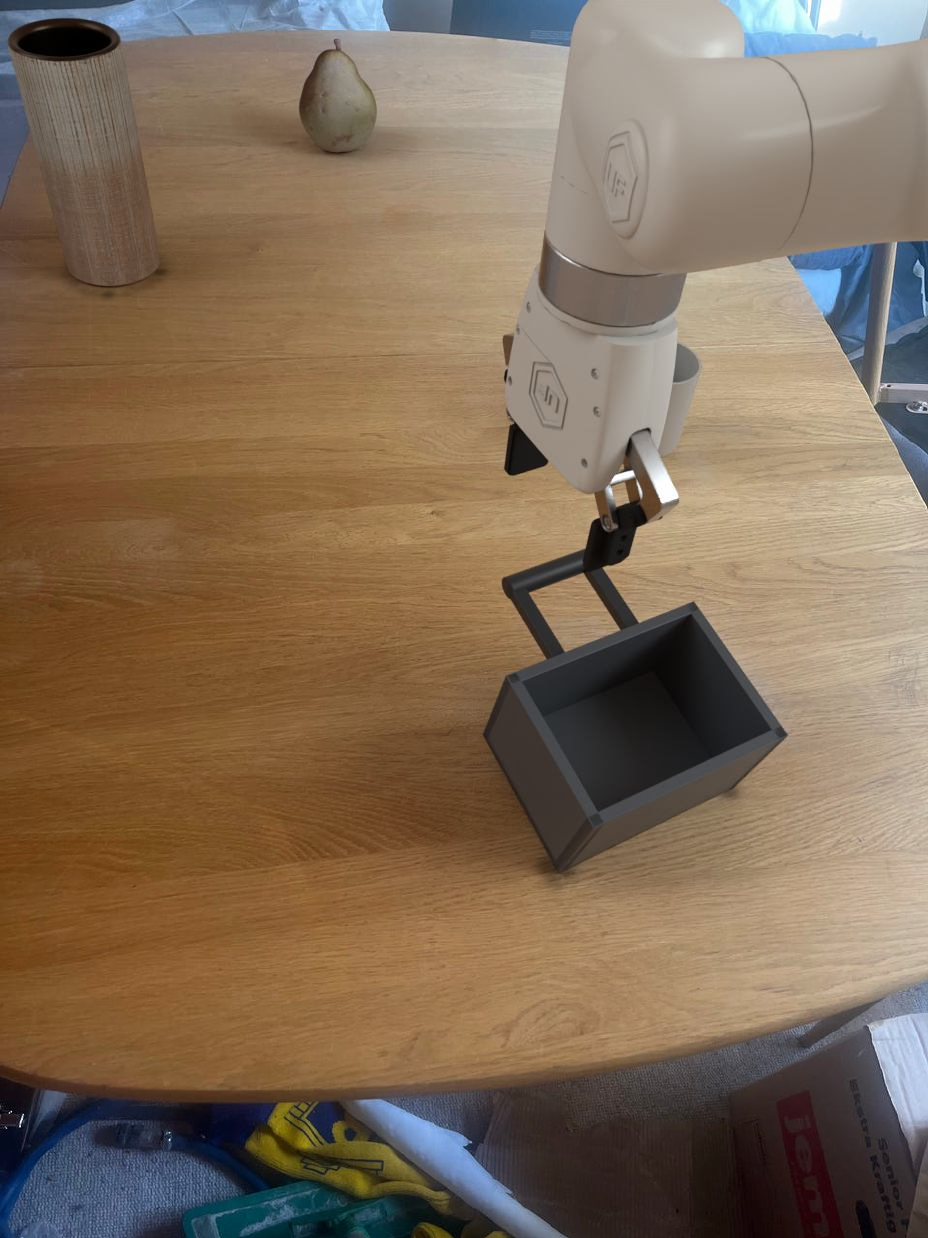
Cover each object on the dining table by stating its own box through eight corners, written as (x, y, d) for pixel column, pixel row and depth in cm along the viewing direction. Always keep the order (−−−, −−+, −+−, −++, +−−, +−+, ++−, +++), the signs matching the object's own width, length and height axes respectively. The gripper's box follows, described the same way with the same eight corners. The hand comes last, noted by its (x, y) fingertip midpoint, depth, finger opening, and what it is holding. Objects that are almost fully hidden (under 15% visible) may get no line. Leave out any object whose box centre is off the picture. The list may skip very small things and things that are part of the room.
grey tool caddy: (734, 787, 69) (788, 735, 61) (558, 874, 64) (593, 828, 56) (604, 589, 76) (638, 520, 69) (436, 651, 71) (453, 585, 64)
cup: (625, 468, 91) (646, 390, 84) (580, 404, 96) (595, 326, 89) (691, 454, 93) (716, 377, 86) (643, 392, 98) (663, 315, 91)
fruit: (360, 125, 133) (359, 28, 123) (391, 154, 128) (392, 56, 118) (291, 136, 129) (285, 38, 120) (320, 167, 124) (316, 67, 115)
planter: (101, 231, 110) (50, 8, 93) (178, 253, 109) (141, 30, 91) (47, 273, 104) (-18, 43, 87) (128, 297, 102) (78, 66, 85)
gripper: (469, 207, 53) (451, 449, 66) (649, 380, 44) (587, 624, 57) (582, 185, 56) (543, 422, 69) (776, 344, 46) (689, 584, 59)
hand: (563, 513), depth 63 cm, fingers open, 9 cm apart
